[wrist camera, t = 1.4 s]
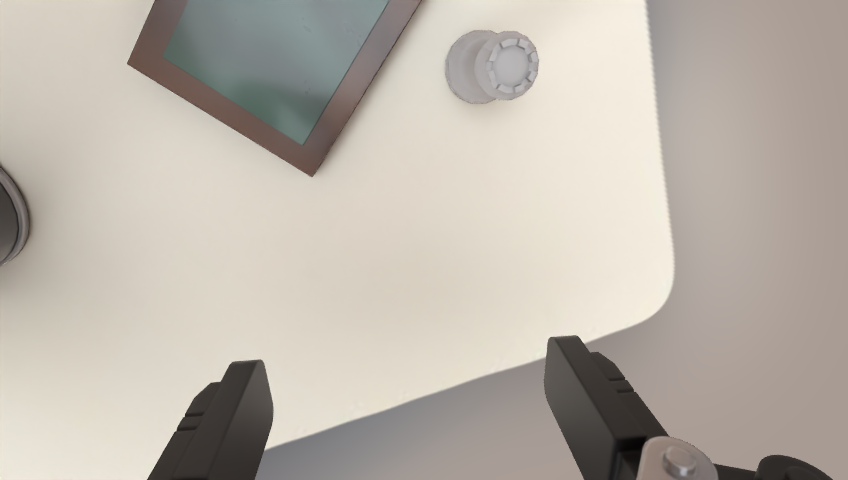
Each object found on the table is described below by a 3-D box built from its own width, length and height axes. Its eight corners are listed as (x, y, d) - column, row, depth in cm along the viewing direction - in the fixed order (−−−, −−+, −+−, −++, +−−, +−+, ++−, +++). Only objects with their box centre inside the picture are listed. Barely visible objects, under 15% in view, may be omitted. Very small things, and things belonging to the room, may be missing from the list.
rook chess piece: (430, 77, 28) (449, 79, 20) (470, 15, 27) (506, -7, 19) (483, 116, 29) (519, 131, 22) (523, 58, 28) (576, 53, 21)
